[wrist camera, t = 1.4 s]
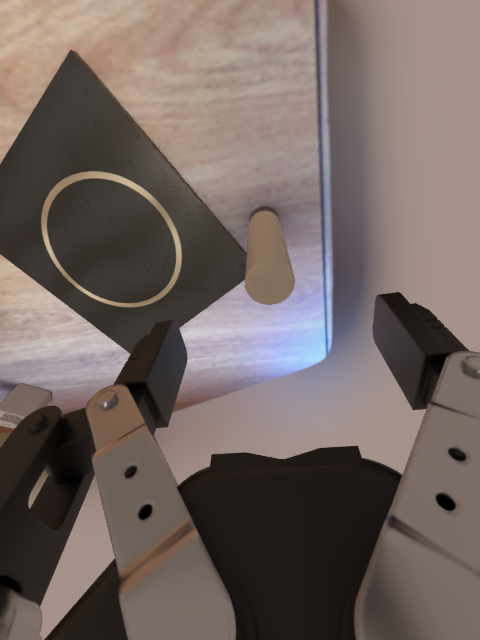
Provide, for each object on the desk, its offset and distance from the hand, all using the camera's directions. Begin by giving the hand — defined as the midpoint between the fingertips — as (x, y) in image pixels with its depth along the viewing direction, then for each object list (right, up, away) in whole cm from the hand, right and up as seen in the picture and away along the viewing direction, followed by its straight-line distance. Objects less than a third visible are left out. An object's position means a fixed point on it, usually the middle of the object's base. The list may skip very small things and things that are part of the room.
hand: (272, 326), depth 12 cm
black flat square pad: (-13, +7, +15) cm, 21 cm away
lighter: (-30, -9, +27) cm, 41 cm away
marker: (+1, +9, +13) cm, 16 cm away
